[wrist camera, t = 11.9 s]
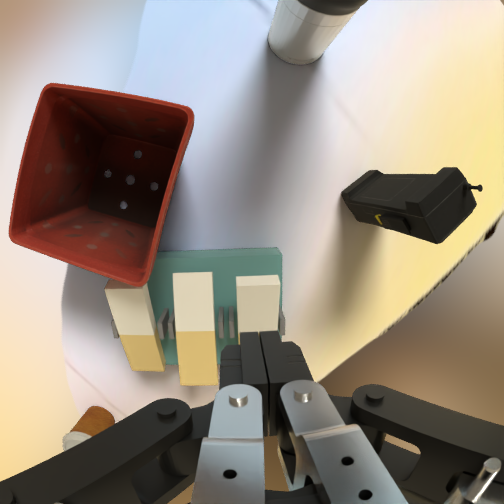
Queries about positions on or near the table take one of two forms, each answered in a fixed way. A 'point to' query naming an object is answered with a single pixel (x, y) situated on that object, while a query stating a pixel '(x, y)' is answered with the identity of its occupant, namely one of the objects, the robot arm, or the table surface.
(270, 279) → the rocker
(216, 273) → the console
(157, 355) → the rocker
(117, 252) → the plant pot
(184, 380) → the rocker
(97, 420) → the disposable coffee cup
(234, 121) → the table surface
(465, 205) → the portable radio
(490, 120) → the table surface
